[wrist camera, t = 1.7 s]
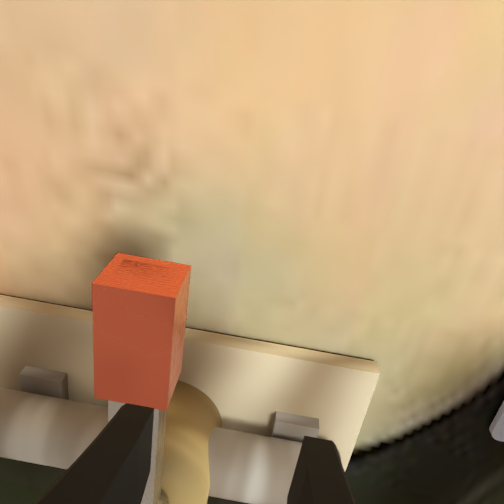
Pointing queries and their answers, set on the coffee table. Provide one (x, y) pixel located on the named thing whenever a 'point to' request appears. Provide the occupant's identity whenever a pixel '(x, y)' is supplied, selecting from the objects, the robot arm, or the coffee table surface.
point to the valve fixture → (181, 404)
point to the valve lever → (140, 343)
